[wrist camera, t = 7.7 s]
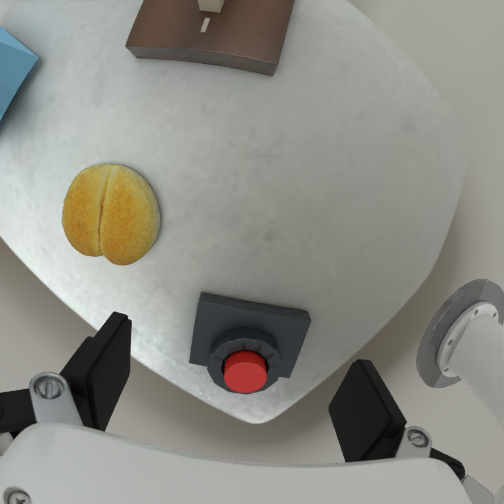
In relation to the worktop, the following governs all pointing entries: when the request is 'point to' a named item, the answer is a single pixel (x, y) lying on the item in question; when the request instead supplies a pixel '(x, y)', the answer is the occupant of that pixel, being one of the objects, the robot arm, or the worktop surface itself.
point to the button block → (247, 336)
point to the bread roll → (111, 213)
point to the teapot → (12, 67)
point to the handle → (211, 5)
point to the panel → (213, 33)
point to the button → (245, 371)
